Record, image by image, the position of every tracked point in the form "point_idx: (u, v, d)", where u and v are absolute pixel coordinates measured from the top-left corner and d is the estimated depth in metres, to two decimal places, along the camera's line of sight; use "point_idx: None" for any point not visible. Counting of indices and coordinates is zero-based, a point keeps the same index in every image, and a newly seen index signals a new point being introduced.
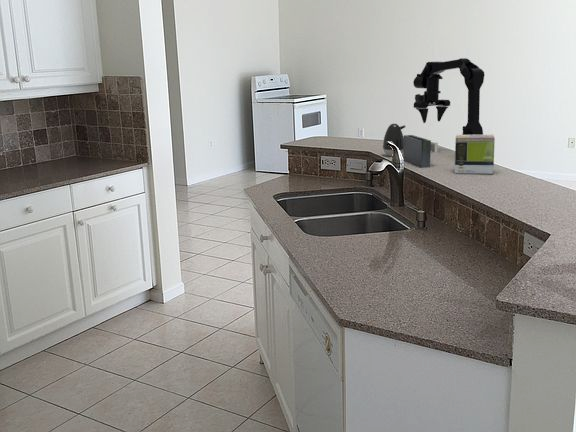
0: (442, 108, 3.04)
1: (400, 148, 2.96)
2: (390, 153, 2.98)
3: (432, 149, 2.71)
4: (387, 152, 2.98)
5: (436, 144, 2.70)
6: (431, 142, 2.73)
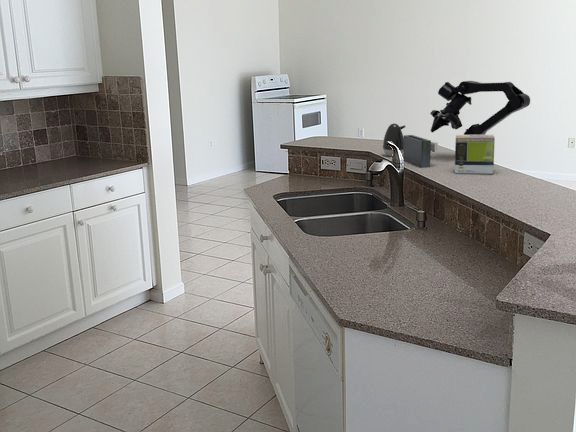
0: None
1: (400, 148, 2.96)
2: (390, 153, 2.98)
3: (432, 149, 2.71)
4: (387, 152, 2.98)
5: (436, 144, 2.70)
6: (431, 142, 2.73)
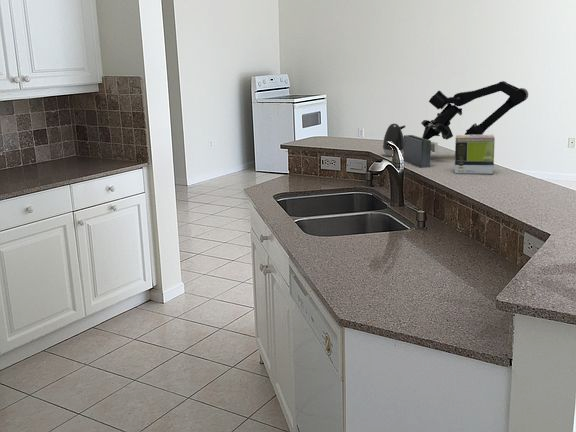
0: None
1: (400, 148, 2.96)
2: (390, 153, 2.98)
3: (432, 149, 2.71)
4: (387, 152, 2.98)
5: (436, 144, 2.70)
6: (431, 142, 2.73)
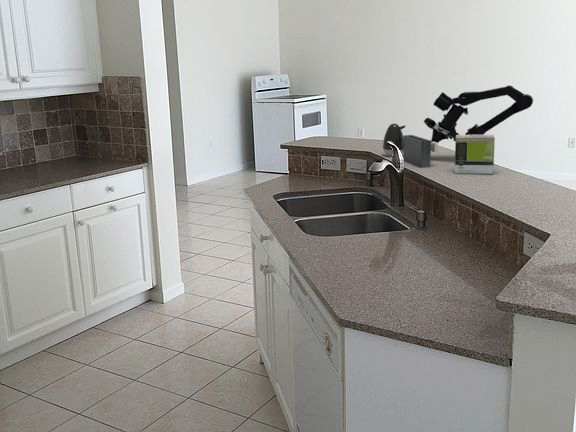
0: None
1: (400, 148, 2.96)
2: (390, 153, 2.98)
3: (432, 149, 2.71)
4: (387, 152, 2.98)
5: (436, 144, 2.70)
6: (431, 142, 2.73)
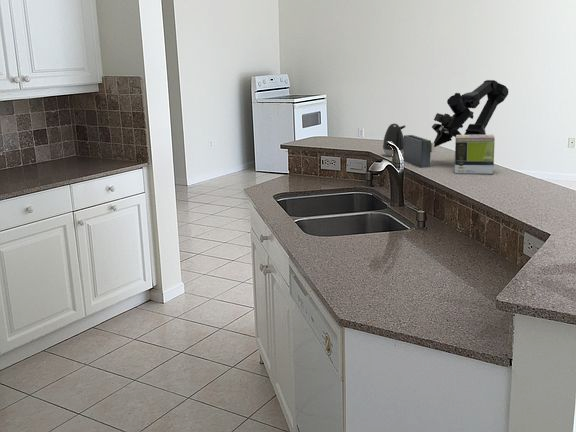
0: None
1: (400, 148, 2.96)
2: (390, 153, 2.98)
3: None
4: (387, 152, 2.98)
5: (433, 144, 2.70)
6: None
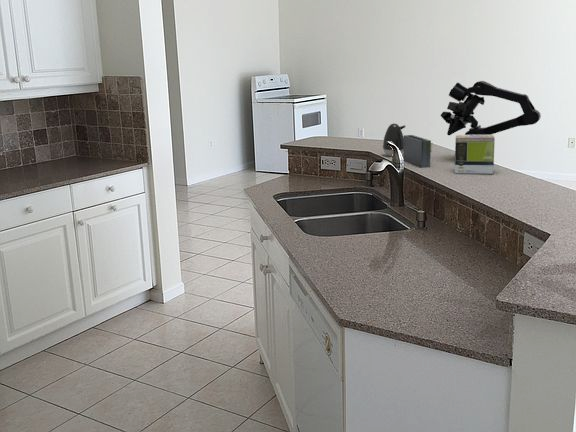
0: None
1: (400, 148, 2.96)
2: (390, 153, 2.98)
3: None
4: (387, 152, 2.98)
5: (431, 144, 2.70)
6: None
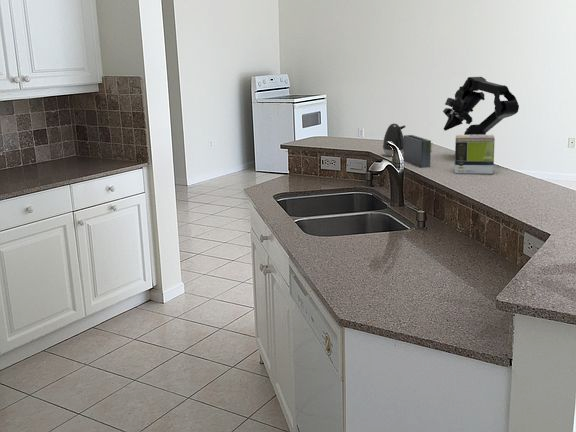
0: None
1: (400, 148, 2.96)
2: (390, 153, 2.98)
3: None
4: (387, 152, 2.98)
5: (431, 144, 2.70)
6: None
